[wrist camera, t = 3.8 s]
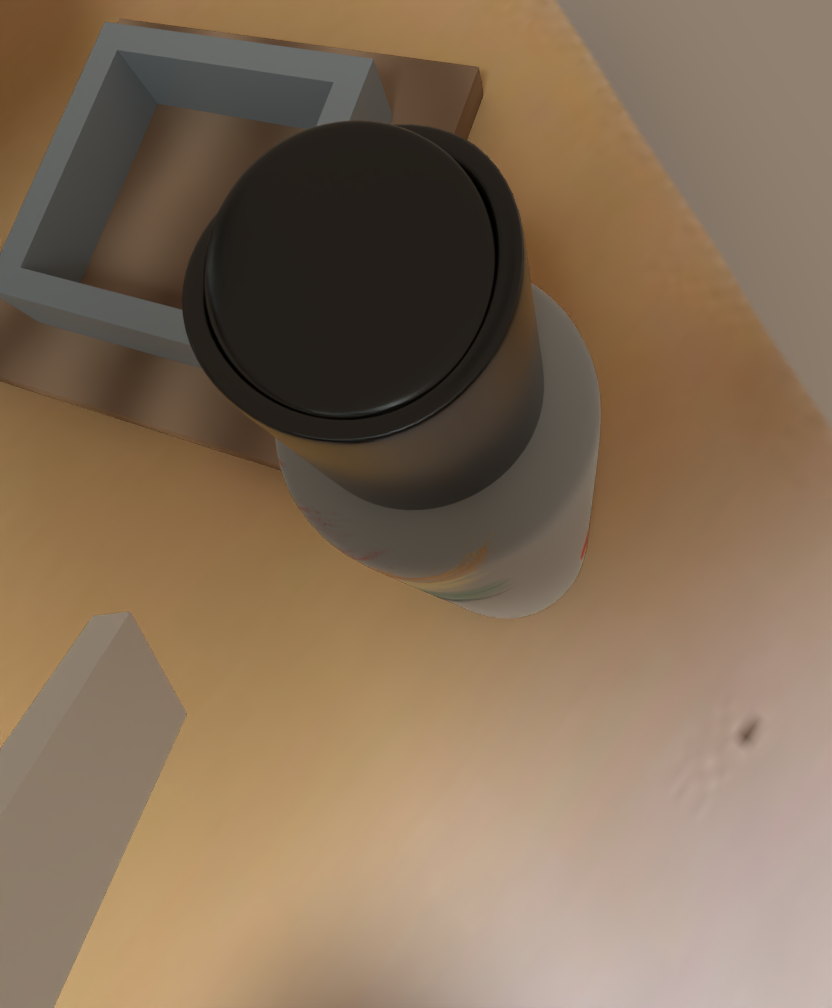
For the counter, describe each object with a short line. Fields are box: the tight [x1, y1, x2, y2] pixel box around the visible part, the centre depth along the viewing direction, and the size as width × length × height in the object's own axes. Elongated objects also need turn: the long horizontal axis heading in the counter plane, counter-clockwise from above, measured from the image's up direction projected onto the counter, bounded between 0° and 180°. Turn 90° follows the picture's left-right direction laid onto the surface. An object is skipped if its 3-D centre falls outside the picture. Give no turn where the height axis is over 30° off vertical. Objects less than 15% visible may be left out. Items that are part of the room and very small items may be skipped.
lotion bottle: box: [182, 120, 601, 618], centre depth 17 cm, size 6×6×20 cm
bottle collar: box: [0, 22, 393, 368], centre depth 29 cm, size 12×12×3 cm
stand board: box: [0, 19, 483, 470], centre depth 31 cm, size 18×18×2 cm
